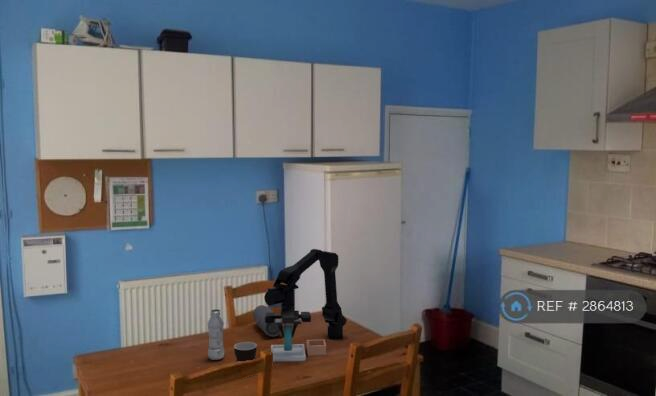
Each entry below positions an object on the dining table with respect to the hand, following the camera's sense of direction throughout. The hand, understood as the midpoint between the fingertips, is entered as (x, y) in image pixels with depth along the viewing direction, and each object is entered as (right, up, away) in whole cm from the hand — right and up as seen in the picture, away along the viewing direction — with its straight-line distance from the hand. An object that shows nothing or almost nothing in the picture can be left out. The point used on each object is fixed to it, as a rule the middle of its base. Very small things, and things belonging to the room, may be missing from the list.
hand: (287, 337), depth 224 cm
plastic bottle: (-29, -8, -4) cm, 30 cm away
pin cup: (+12, -7, +4) cm, 14 cm away
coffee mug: (-15, -9, -15) cm, 23 cm away
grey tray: (0, -7, +1) cm, 7 cm away
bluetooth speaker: (-12, -5, +30) cm, 32 cm away
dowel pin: (0, -5, 0) cm, 5 cm away
